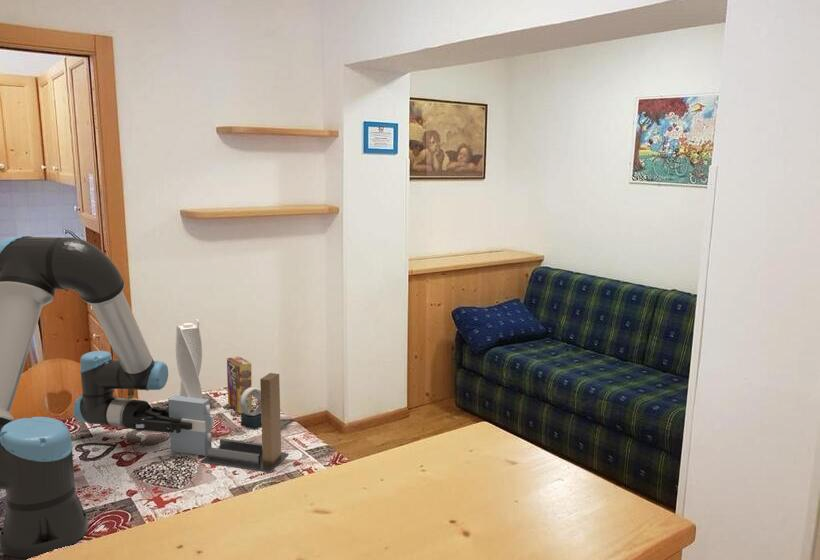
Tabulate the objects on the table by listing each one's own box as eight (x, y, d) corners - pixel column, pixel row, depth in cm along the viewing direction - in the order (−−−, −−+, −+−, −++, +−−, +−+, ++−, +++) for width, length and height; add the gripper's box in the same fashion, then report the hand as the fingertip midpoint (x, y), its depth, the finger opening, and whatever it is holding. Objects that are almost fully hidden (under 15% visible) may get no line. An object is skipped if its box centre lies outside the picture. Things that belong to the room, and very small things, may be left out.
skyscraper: (212, 405, 198) (208, 316, 193) (196, 414, 190) (191, 322, 185) (188, 401, 200) (184, 314, 195) (172, 411, 193) (167, 320, 188)
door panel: (208, 456, 163) (205, 404, 161) (171, 450, 166) (168, 399, 164) (214, 451, 166) (212, 399, 164) (178, 446, 169) (175, 395, 167)
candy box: (253, 411, 194) (252, 362, 191) (240, 414, 191) (238, 365, 188) (240, 402, 200) (239, 355, 198) (227, 405, 198) (225, 358, 195)
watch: (271, 422, 185) (270, 386, 183) (249, 431, 179) (247, 394, 177) (258, 418, 188) (257, 382, 186) (236, 426, 182) (234, 389, 180)
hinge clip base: (270, 472, 155) (267, 383, 151) (200, 462, 160) (196, 376, 156) (288, 454, 165) (286, 371, 161) (222, 445, 170) (219, 364, 166)
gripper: (150, 416, 178) (226, 425, 172) (109, 439, 162) (191, 451, 157) (149, 390, 176) (225, 399, 170) (107, 411, 161) (189, 421, 155)
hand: (208, 423), depth 164 cm, fingers closed on door panel, 3 cm apart
